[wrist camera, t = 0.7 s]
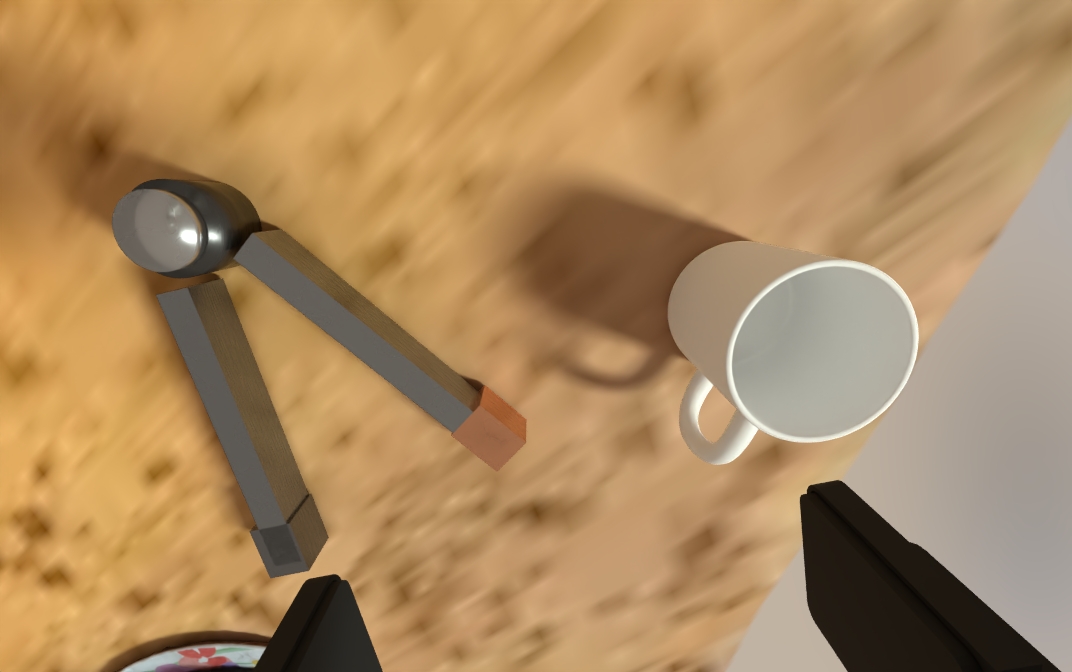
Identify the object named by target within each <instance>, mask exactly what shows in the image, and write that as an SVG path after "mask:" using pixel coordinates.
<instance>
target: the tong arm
mask: <svg viewBox="0 0 1072 672" xmlns="http://www.w3.org/2000/svg"><path fill="white" fill-rule="evenodd" d="M112 227H113V233H114V236H115V239H116V241H117V243H118V245H119V247H120V248H121V250H122V251H123V252H124V254H125V255H126V256H127V257H128V258H129V259H131V260H132V261H133V262H134V263H136V264H137V265H139V266H141V267H143V268H145V269H148V270H151V271H155V272H170V271H175V270H179V269H184V268H188V267H190V266H192V265H194V264H196V263H197V262H198V261H199V260H200V259H201V258H202V257H203V255H204V254H205V252H206V249H207V246H208V240H209V234H208V228H207V224H206V221H205V219H204V217H203V215H202V213H201V212H200V211H199V209H198V208H197V207H196V206H195V205H194V204H193V203H192V202H191V201H190V200H189V199H187V198H186V197H184V196H183V195H181V194H179V193H176V192H173V191H170V190H161V189H141V190H136V191H132V192H130V193H128V194H127V195H125V196H124V197H123V198H122V199H121V200H120V201H119V202H118V203H117V205H116V207H115V210H114V212H113V217H112ZM233 259H235V260H236V261H237V262H238V263H240V264H241V265H242V266H243V267H245V268H246V269H247V270H248V271H250V272H251V273H252V274H253V275H255V276H256V277H257V278H258V279H260V280H261V281H262V282H263V283H265V284H266V285H267V286H269V287H270V288H271V289H272V290H274V291H275V292H276V293H277V294H279V295H280V296H281V297H282V298H284V299H285V300H286V301H287V302H289V303H290V304H291V305H292V306H294V307H295V308H296V309H298V310H299V311H300V312H301V313H303V314H304V315H305V316H306V317H308V318H309V319H310V320H311V321H313V322H314V323H315V324H316V325H318V326H319V327H320V328H321V329H323V330H324V331H325V332H327V333H328V334H329V335H330V336H332V337H333V338H334V339H335V340H337V341H338V342H339V343H340V344H342V345H343V346H344V347H345V348H347V349H348V350H349V351H350V352H352V353H353V354H354V355H355V356H357V357H358V358H359V359H361V360H362V361H363V362H364V363H366V364H367V365H368V366H369V367H371V368H372V369H373V370H374V371H376V372H377V373H378V374H379V375H381V376H382V377H383V378H384V379H386V380H387V381H388V382H390V383H391V384H392V385H393V386H395V387H396V388H397V389H398V390H400V391H401V392H402V393H403V394H405V395H406V396H407V397H408V398H410V399H411V400H412V401H413V402H415V403H416V404H417V405H418V406H420V407H421V408H422V409H424V410H425V411H426V412H427V413H429V414H430V415H431V416H432V417H434V418H435V419H436V420H437V421H439V422H440V423H441V424H442V425H444V426H445V427H446V428H447V429H449V430H450V431H451V432H452V434H451V436H453V437H454V438H455V439H456V440H458V441H459V442H460V443H461V444H463V445H464V446H465V447H466V448H468V449H469V450H470V451H471V452H473V453H474V454H475V455H477V456H478V457H479V458H480V459H482V460H483V461H484V462H485V463H487V464H488V465H489V466H490V467H492V468H493V469H494V470H495V471H498V470H499V469H500V468H501V467H502V466H503V465H504V464H505V463H506V462H507V461H508V460H509V459H510V458H511V457H512V456H513V455H514V454H515V453H516V452H517V451H518V450H519V449H520V448H521V447H522V446H523V445H524V444H525V443H526V419H525V418H524V417H523V416H521V415H520V414H519V413H518V412H517V411H515V410H514V409H513V408H512V407H511V406H509V405H508V404H507V403H506V402H505V401H503V400H502V399H501V398H500V397H499V396H497V395H496V394H495V393H494V392H492V391H491V390H490V389H489V388H488V387H486V386H485V385H484V386H483V388H482V389H481V390H480V391H477V390H476V389H475V388H474V387H473V386H471V385H470V384H469V383H468V382H467V381H465V380H464V379H463V378H462V377H460V376H459V375H458V374H457V373H456V372H454V371H453V370H452V369H451V368H450V367H448V366H447V365H446V364H445V363H443V362H442V361H441V360H440V359H439V358H437V357H436V356H435V355H434V354H433V353H431V352H430V351H429V350H428V349H427V348H425V347H424V346H423V345H422V344H420V343H419V342H418V341H417V340H416V339H414V338H413V337H412V336H411V335H410V334H408V333H407V332H406V331H405V330H403V329H402V328H401V327H400V326H399V325H397V324H396V323H395V322H394V321H393V320H391V319H390V318H389V317H388V316H386V315H385V314H384V313H383V312H382V311H380V310H379V309H378V308H377V307H376V306H374V305H373V304H372V303H371V302H370V301H368V300H367V299H366V298H365V297H363V296H362V295H361V294H360V293H359V292H357V291H356V290H355V289H354V288H353V287H351V286H350V285H349V284H348V283H346V282H345V281H344V280H343V279H342V278H340V277H339V276H338V275H337V274H336V273H334V272H333V271H332V270H331V269H330V268H328V267H327V266H326V265H325V264H323V263H322V262H321V261H320V260H319V259H317V258H316V257H315V256H314V255H313V254H311V253H310V252H309V251H308V250H306V249H305V248H304V247H303V246H302V245H300V244H299V243H298V242H297V241H296V240H294V239H293V238H292V237H291V236H290V235H288V234H287V233H286V232H285V231H283V230H282V229H280V230H272V231H264V232H256V233H252V234H251V235H250V237H249V238H248V239H247V241H246V242H245V243H244V245H243V246H242V247H241V249H240V250H239V251H238V253H237V254H236V255H235V257H234V258H233Z"/></svg>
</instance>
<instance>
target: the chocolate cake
mask: <svg viewBox="0 0 1072 672" xmlns="http://www.w3.org/2000/svg"><path fill="white" fill-rule="evenodd" d="M268 643H269V642H237V641H228V642H216V641H215V642H198V643H194V644H189V645H184V646H179V647H166V648H165V649H164V650H163V651H161V652H155V653H153V654H152V655H151V656H149V657H146V658H142V659H139V660H137V661H135V662H133V663H131V664H129V665H126V666H125V667H124V668H122V669H119V670H117V671H115V672H252V671H253V669H254V667H255V666H256V664H257V662H258V661H259V659H260V657H261V655H262V654H263V652H264V650H265V649H266V647H267V645H268Z"/></svg>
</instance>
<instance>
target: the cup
mask: <svg viewBox="0 0 1072 672" xmlns="http://www.w3.org/2000/svg"><path fill="white" fill-rule="evenodd" d="M668 323H669V328H670V331H671V334H672V336H673V339H674V341H675V343H676V344H677V346H678V348H679V349H680V350H681V352H682V353H683V354H684V355H685V356H686V357H687V359H688V360H689V361H690V362H691V363H692V364H693V365H694V366H695V367H696V368H697V370H696V371H695V373H694V375H693V377H692V379H691V381H690V382H689V384H688V386H687V389H686V391H685V393H684V396H683V399H682V402H681V406H680V411H679V426H680V431H681V434H682V437H683V439H684V441H685V442H686V444H687V446H688V447H689V449H690V450H691V451H692V452H693V453H694V454H695V455H696V456H697V457H699V458H700V459H701V460H703V461H705V462H707V463H710V464H716V465H720V464H726V463H728V462H731V461H732V460H734V459H735V458H737V457H738V456H739V455H740V454H741V453H742V452H743V451H744V449H745V448H746V447H747V446H748V444H749V443H750V441H751V440H752V438H753V437H754V435H755V434H756V432H757V430H758V429H759V430H761V431H763V432H765V433H767V434H769V435H771V436H773V437H776V438H779V439H783V440H787V441H793V442H821V441H827V440H831V439H836V438H839V437H842V436H845V435H847V434H850V433H852V432H854V431H856V430H858V429H860V428H862V427H863V426H865V425H867V424H868V423H870V422H871V421H873V420H874V419H875V418H877V417H878V416H879V415H880V414H881V413H882V412H884V411H885V410H886V409H887V408H888V407H889V406H890V405H891V404H892V402H893V401H894V400H895V399H896V397H897V396H898V395H899V393H900V392H901V390H902V389H903V387H904V386H905V384H906V382H907V380H908V378H909V376H910V374H911V372H912V369H913V366H914V363H915V359H916V355H917V349H918V337H919V336H918V325H917V319H916V315H915V312H914V309H913V307H912V304H911V302H910V300H909V299H908V297H907V295H906V294H905V292H904V291H903V290H902V288H901V287H900V286H899V285H898V284H897V283H896V282H895V281H894V280H893V279H892V278H891V277H889V276H888V275H887V274H885V273H884V272H882V271H881V270H879V269H877V268H875V267H873V266H870V265H867V264H865V263H861V262H857V261H852V260H847V259H842V258H837V257H832V256H827V255H822V254H817V253H812V252H807V251H801V250H796V249H791V248H786V247H781V246H776V245H771V244H766V243H760V242H753V241H734V242H728V243H724V244H720V245H717V246H714V247H712V248H710V249H708V250H706V251H704V252H703V253H701V254H700V255H698V256H697V257H695V258H694V259H693V260H692V261H691V262H690V263H689V264H688V265H687V266H686V267H685V268H684V269H683V271H682V272H681V273H680V275H679V276H678V278H677V280H676V282H675V284H674V286H673V288H672V291H671V294H670V297H669V302H668ZM713 385H714V386H715V387H716V388H717V389H718V390H719V391H720V392H721V393H722V394H723V395H724V397H725V398H726V399H727V400H728V401H729V402H730V403H731V404H732V405H733V406H734V407H735V408H736V411H735V413H734V415H733V417H732V419H731V420H730V422H729V424H728V426H727V428H726V429H725V431H724V433H723V434H722V436H721V437H720V439H719V440H718V441H717V442H715V443H713V442H710V441H709V440H707V439H706V438H705V437H704V436H703V434H702V433H701V431H700V429H699V425H698V415H699V411H700V408H701V405H702V403H703V401H704V399H705V397H706V396H707V394H708V393H709V391H710V390H711V388H712V387H713Z"/></svg>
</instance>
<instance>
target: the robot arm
mask: <svg viewBox="0 0 1072 672" xmlns="http://www.w3.org/2000/svg"><path fill="white" fill-rule="evenodd" d="M800 509H801V523H802V536H803V549H804V564H805V577H806V591H807V602H808V607H809V610H810V613H811V615H812V618H813V620H814V621H815V623H816V625H817V626H818V628H819V629H820V631H821V632H822V634H823V635H824V637H825V638H826V640H827V641H828V643H829V644H830V646H831V647H832V648H833V650H834V651H835V653H836V655H837V656H838V658H839V659H840V661H841V662H842V664H843V665H844V667H845V668H846V670H847V671H848V672H1061V671H1060V670H1059V669H1058V668H1057V667H1055V666H1054V665H1053V664H1052V663H1051V662H1050V661H1049V660H1048V659H1046V658H1045V657H1044V656H1043V655H1042V654H1041V653H1040V652H1039V651H1038V650H1037V649H1035V648H1034V647H1033V646H1032V645H1031V644H1030V643H1029V642H1028V641H1026V640H1025V639H1024V638H1023V637H1022V636H1021V635H1020V634H1018V633H1017V632H1016V631H1015V630H1014V629H1013V628H1012V627H1011V626H1009V624H1007V623H1006V622H1005V621H1004V620H1003V619H1002V618H1001V617H999V616H998V615H997V614H996V613H995V612H994V611H993V610H992V609H991V608H990V607H988V606H987V605H986V604H985V603H984V602H983V601H982V600H981V599H979V598H978V597H977V596H976V595H975V594H974V593H973V592H972V591H971V590H969V589H968V588H967V587H966V586H965V585H964V584H963V583H962V582H960V581H959V580H958V579H957V578H956V577H955V576H954V575H953V574H952V573H950V572H949V571H948V570H947V569H946V568H945V567H944V566H942V565H941V564H940V563H939V562H938V561H937V560H936V559H935V558H934V557H932V556H931V555H930V554H929V553H928V552H927V551H926V550H924V549H923V548H922V547H920V546H919V545H917V544H914V543H911V542H908V541H907V540H906V539H905V538H904V537H903V536H902V535H901V534H899V532H898V531H896V530H895V529H894V528H893V527H892V526H891V525H890V524H889V523H888V522H886V521H885V520H884V519H883V518H882V517H881V516H880V515H879V514H878V513H877V512H876V511H874V510H873V509H872V508H871V507H870V506H869V505H868V504H867V503H865V501H863V500H862V499H861V498H860V497H859V496H858V495H857V494H856V493H855V492H854V491H853V490H851V489H850V488H849V487H848V486H847V485H846V484H845V483H843V482H842V481H839V480H836V481H830V482H825V483H820V484H814V485H810V486H808V489H807V494H803V495H801V497H800ZM252 672H383V671H382V668H381V666H380V663H379V661H378V658H377V655H376V653H375V650H374V647H373V645H372V642H371V639H370V637H369V634H368V632H367V629H366V626H365V624H364V621H363V618H362V616H361V613H360V611H359V608H358V605H357V603H356V600H355V597H354V595H353V592H352V589H351V587H350V585H349V583H348V581H346V580H341V578H340V577H339V576H338V575H336V574H333V575H328V576H322V577H317V578H311V579H308V580H306V581H305V583H304V584H303V585H302V587H301V589H300V590H299V592H298V594H297V596H296V597H295V599H294V601H293V602H292V604H291V606H290V608H289V609H288V611H287V613H286V614H285V616H284V618H283V620H282V621H281V623H280V625H279V626H278V628H277V630H276V632H275V633H274V635H273V637H272V638H271V640H270V642H269V643H268V645H267V647H266V649H265V650H264V652H263V654H262V655H261V657H260V659H259V661H258V662H257V664H256V666H255V667H254V669H253V671H252Z"/></svg>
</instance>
